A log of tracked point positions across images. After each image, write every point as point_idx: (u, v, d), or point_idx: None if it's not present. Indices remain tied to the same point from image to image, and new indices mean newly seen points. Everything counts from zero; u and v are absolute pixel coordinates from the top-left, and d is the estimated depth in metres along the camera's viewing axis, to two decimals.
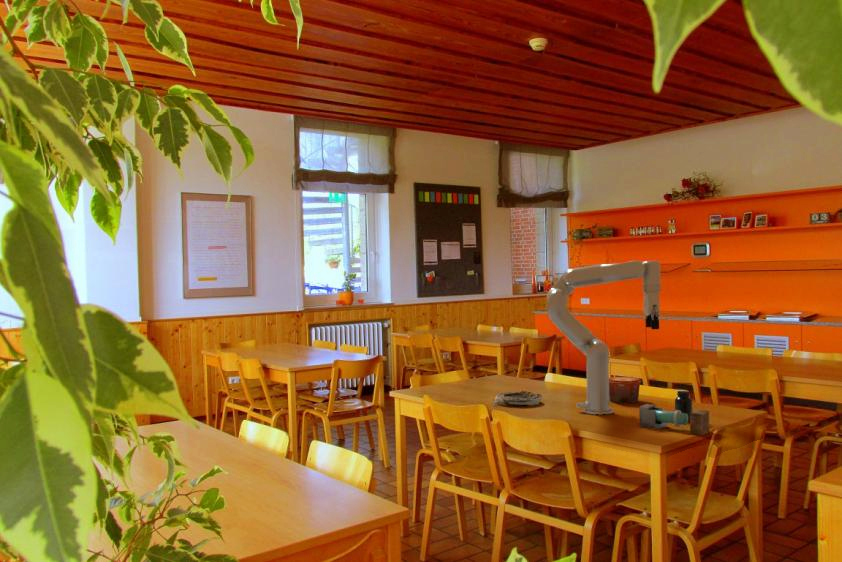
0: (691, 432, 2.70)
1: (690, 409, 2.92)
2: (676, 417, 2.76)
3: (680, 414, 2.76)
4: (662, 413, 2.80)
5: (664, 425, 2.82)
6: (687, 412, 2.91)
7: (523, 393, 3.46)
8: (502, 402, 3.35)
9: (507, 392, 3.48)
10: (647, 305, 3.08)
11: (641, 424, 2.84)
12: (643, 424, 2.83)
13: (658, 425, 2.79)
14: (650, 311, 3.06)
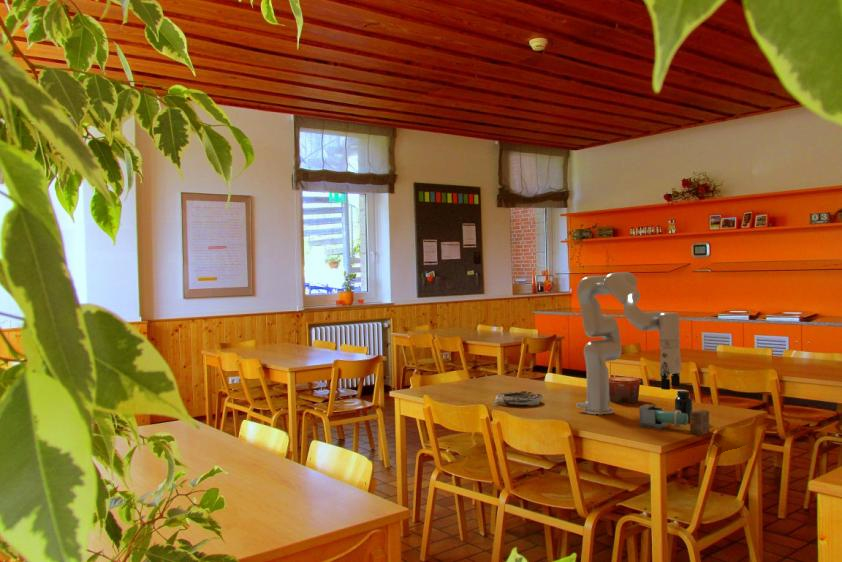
0: (691, 432, 2.70)
1: (690, 409, 2.92)
2: (676, 417, 2.76)
3: (680, 414, 2.76)
4: (662, 413, 2.80)
5: (664, 425, 2.82)
6: (687, 412, 2.91)
7: (523, 393, 3.46)
8: (502, 402, 3.35)
9: (507, 392, 3.48)
10: (680, 361, 2.80)
11: (641, 424, 2.84)
12: (643, 424, 2.83)
13: (658, 425, 2.79)
14: None
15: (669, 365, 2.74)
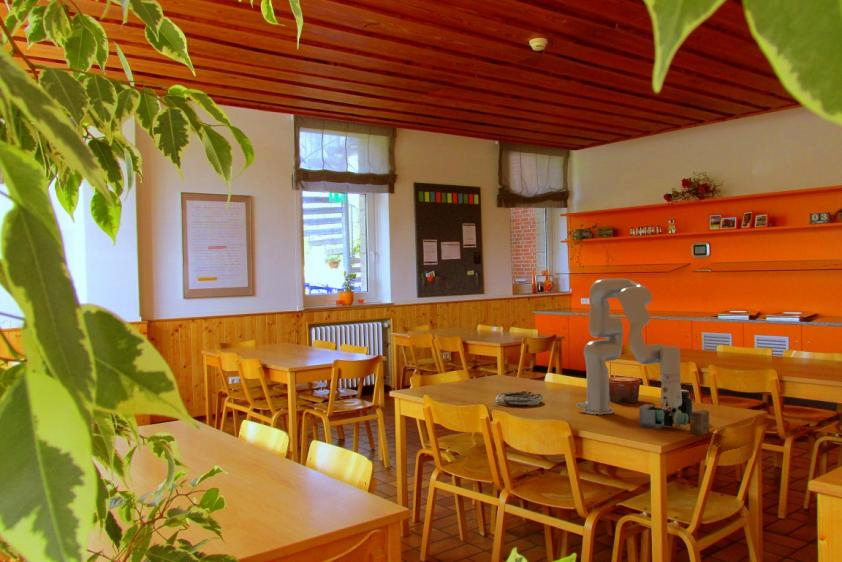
0: (691, 432, 2.70)
1: (690, 409, 2.92)
2: (676, 417, 2.76)
3: (680, 414, 2.76)
4: (662, 413, 2.80)
5: (664, 425, 2.82)
6: (687, 412, 2.91)
7: (524, 393, 3.47)
8: (503, 402, 3.35)
9: (508, 392, 3.48)
10: (680, 395, 2.80)
11: (641, 424, 2.84)
12: (643, 424, 2.83)
13: (658, 425, 2.79)
14: None
15: (669, 400, 2.74)
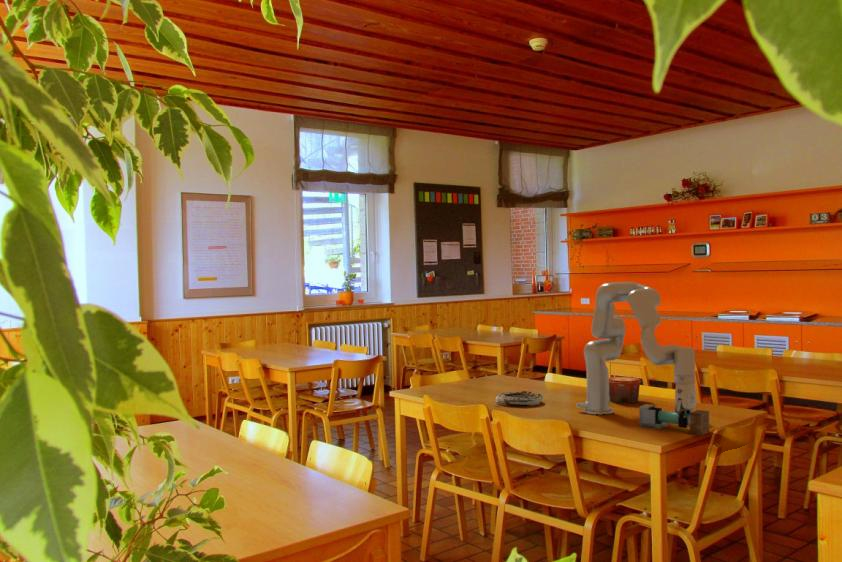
0: (691, 432, 2.70)
1: None
2: None
3: None
4: (676, 415, 2.76)
5: (664, 425, 2.82)
6: None
7: (524, 393, 3.47)
8: (503, 402, 3.35)
9: (508, 392, 3.48)
10: (695, 396, 2.76)
11: (641, 424, 2.84)
12: (643, 424, 2.83)
13: (658, 425, 2.79)
14: None
15: (684, 401, 2.71)
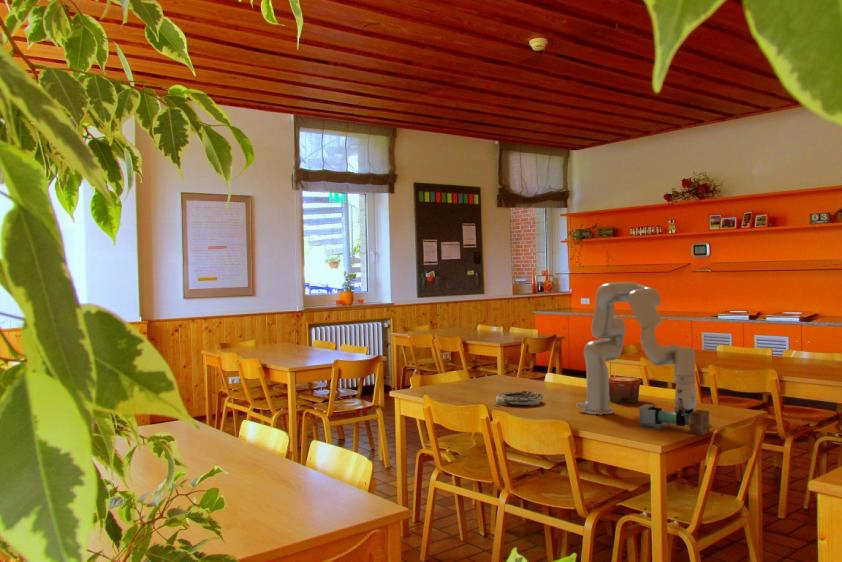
0: (691, 432, 2.70)
1: None
2: None
3: None
4: None
5: (664, 425, 2.82)
6: None
7: (524, 393, 3.47)
8: (503, 402, 3.35)
9: (508, 392, 3.48)
10: (695, 396, 2.76)
11: (641, 424, 2.84)
12: (643, 424, 2.83)
13: (658, 425, 2.79)
14: None
15: (684, 401, 2.71)
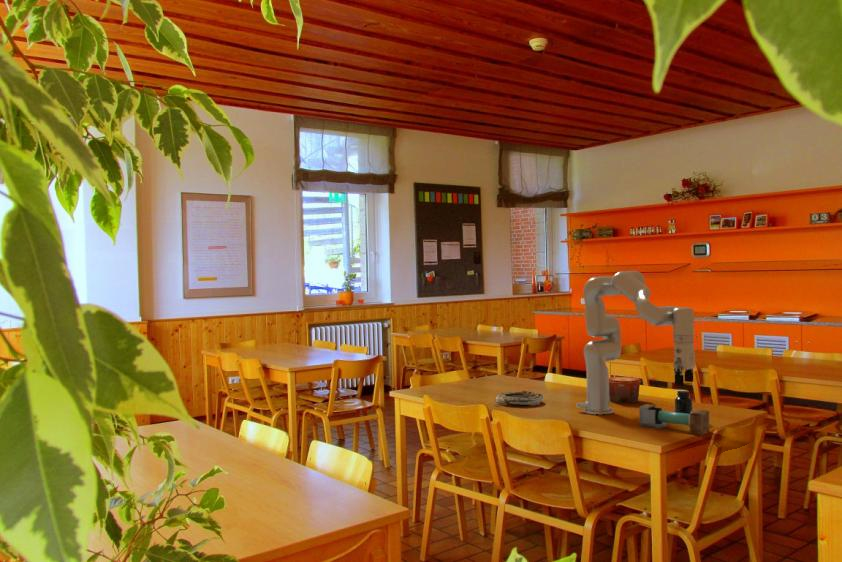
0: (691, 432, 2.70)
1: (690, 409, 2.92)
2: None
3: None
4: (676, 415, 2.76)
5: (664, 425, 2.82)
6: (687, 412, 2.91)
7: (524, 393, 3.47)
8: (503, 402, 3.35)
9: (508, 392, 3.48)
10: (693, 356, 2.77)
11: (641, 424, 2.84)
12: (643, 424, 2.83)
13: (658, 425, 2.79)
14: None
15: (683, 361, 2.71)
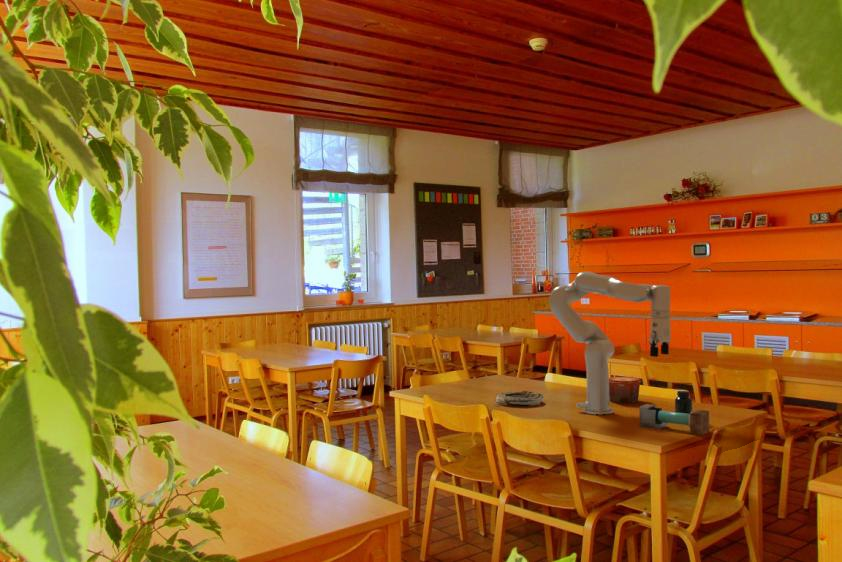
0: (691, 432, 2.70)
1: (690, 409, 2.92)
2: None
3: None
4: (676, 415, 2.76)
5: (664, 425, 2.82)
6: (687, 412, 2.91)
7: (524, 393, 3.47)
8: (503, 402, 3.35)
9: (508, 392, 3.48)
10: (669, 331, 3.00)
11: (641, 424, 2.84)
12: (643, 424, 2.83)
13: (658, 425, 2.79)
14: None
15: (658, 334, 2.94)
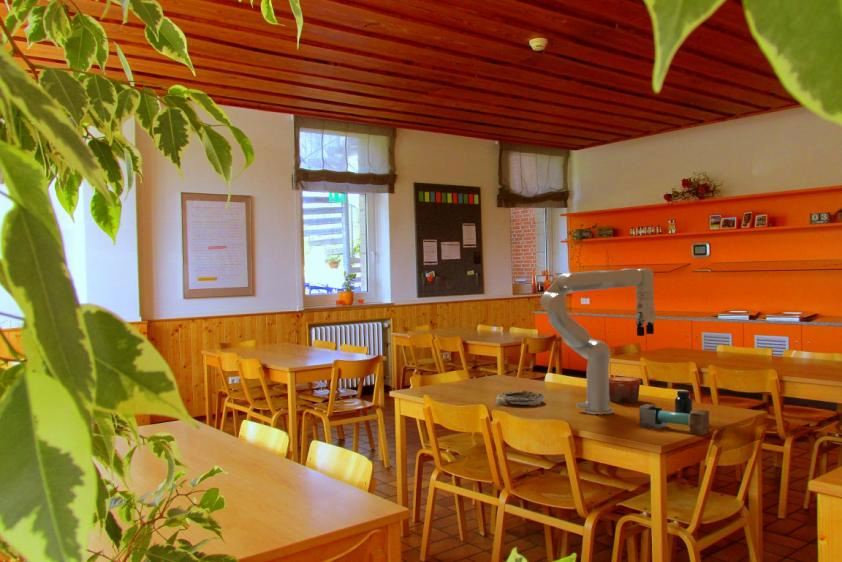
0: (691, 432, 2.70)
1: (690, 409, 2.92)
2: None
3: None
4: (676, 415, 2.76)
5: (664, 425, 2.82)
6: (687, 412, 2.91)
7: (524, 393, 3.47)
8: (504, 402, 3.35)
9: (508, 392, 3.48)
10: (653, 311, 3.17)
11: (641, 424, 2.84)
12: (643, 424, 2.83)
13: (658, 425, 2.79)
14: None
15: (644, 314, 3.12)
